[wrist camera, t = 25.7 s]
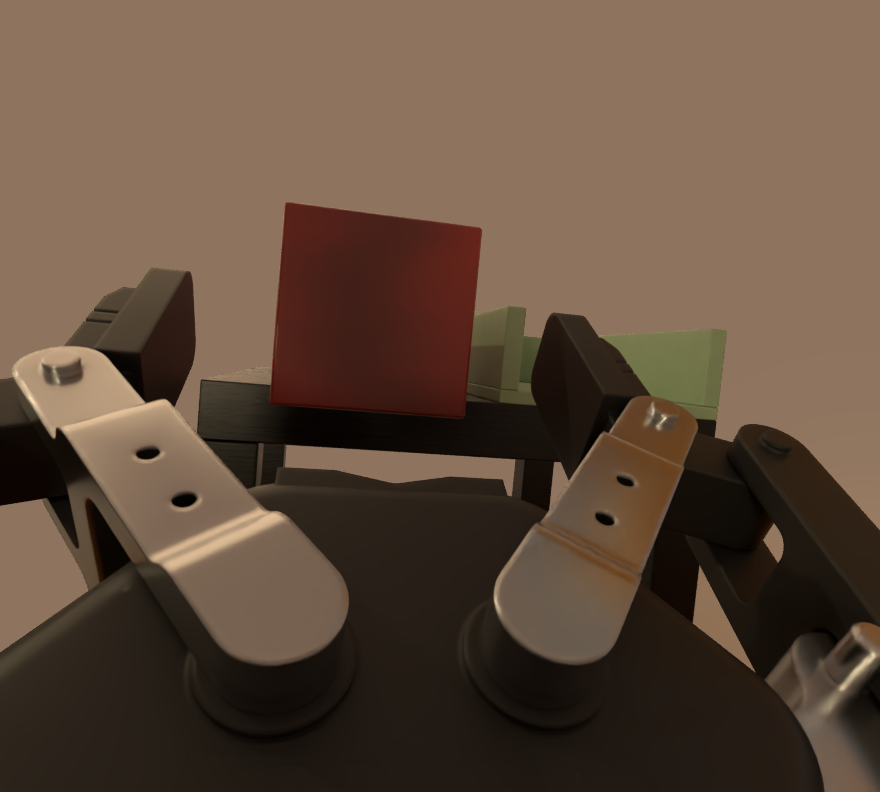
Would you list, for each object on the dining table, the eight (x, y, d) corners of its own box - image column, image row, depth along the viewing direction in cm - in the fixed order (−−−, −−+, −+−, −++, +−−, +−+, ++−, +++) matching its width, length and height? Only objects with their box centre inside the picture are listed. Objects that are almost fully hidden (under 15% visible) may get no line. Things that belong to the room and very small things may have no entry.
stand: (137, 1272, 22) (200, 379, 20) (221, 861, 39) (259, 366, 38) (628, 1186, 25) (717, 420, 24) (504, 844, 43) (550, 391, 41)
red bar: (268, 404, 13) (284, 200, 13) (306, 371, 36) (312, 297, 36) (465, 419, 14) (483, 227, 14) (379, 378, 37) (386, 305, 37)
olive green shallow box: (498, 402, 22) (508, 305, 22) (421, 380, 40) (426, 326, 40) (717, 420, 24) (727, 330, 24) (550, 391, 41) (555, 340, 41)
